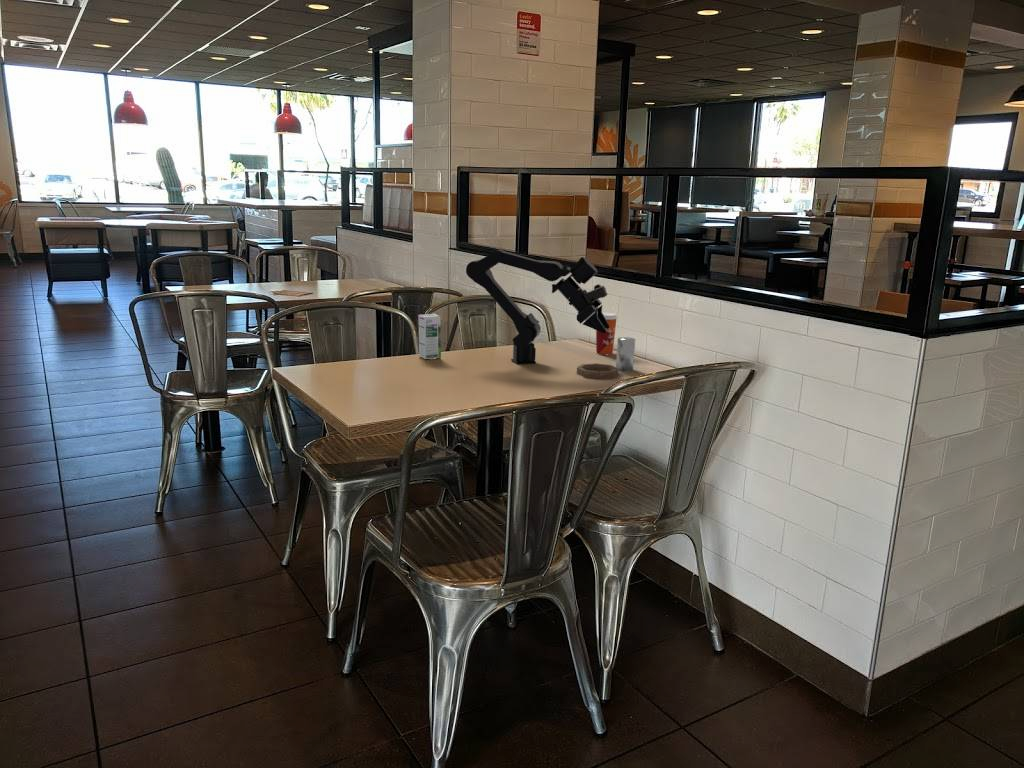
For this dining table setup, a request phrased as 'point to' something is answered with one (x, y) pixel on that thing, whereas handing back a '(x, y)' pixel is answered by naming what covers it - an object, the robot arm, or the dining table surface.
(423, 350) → the syrup box
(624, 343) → the metal tumbler
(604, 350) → the paper cup
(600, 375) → the bore ring
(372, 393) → the dining table surface
